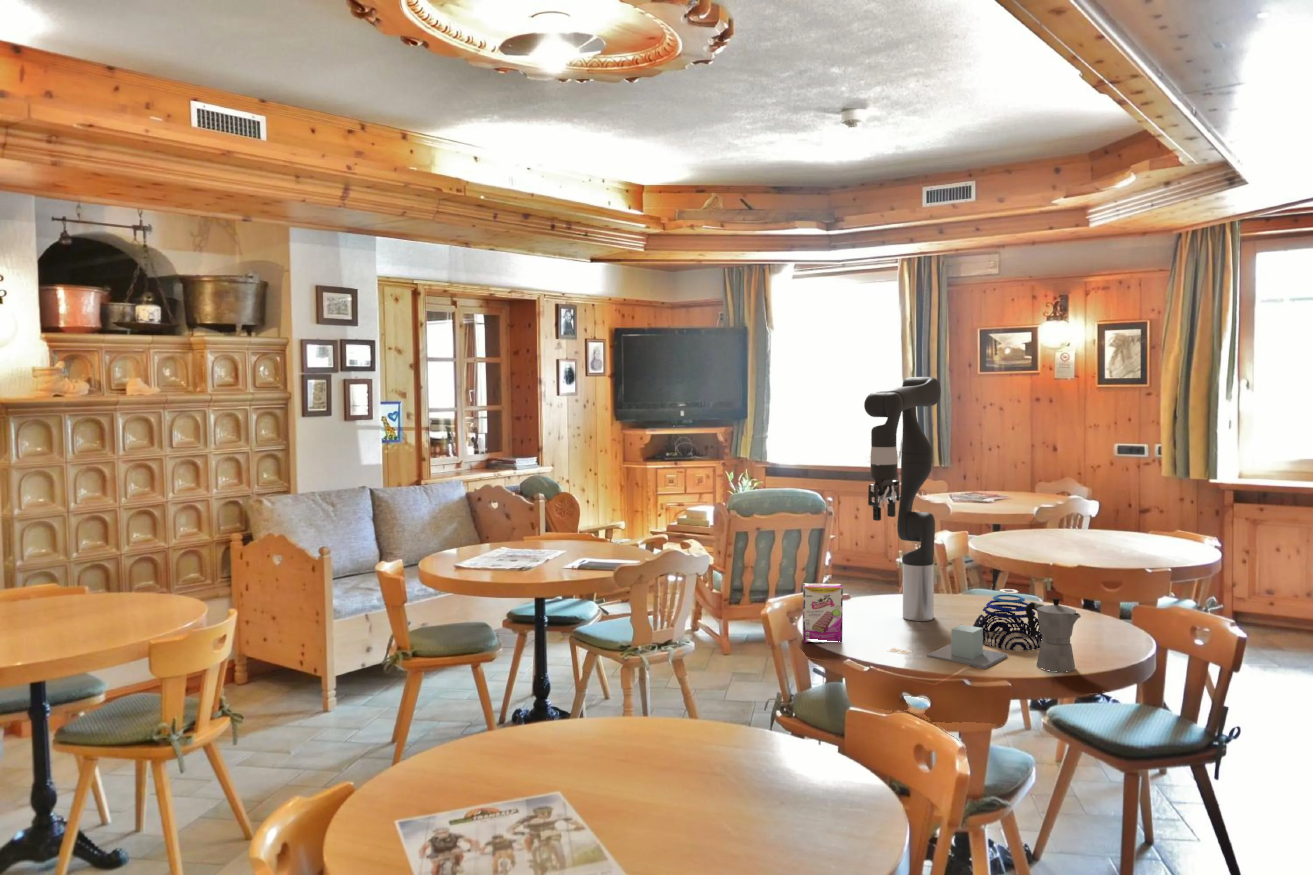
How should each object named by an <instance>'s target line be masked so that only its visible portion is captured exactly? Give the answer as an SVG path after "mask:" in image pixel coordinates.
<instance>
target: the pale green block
mask: <svg viewBox="0 0 1313 875" xmlns="http://www.w3.org/2000/svg"><path fill="white" fill-rule="evenodd" d="M950 632H951V634H950V635H951V636H950V637H951V640H950V642H951V643H950V644H951V655H955V656H960V657H965V658H971V659H974V658H976V657H978V656H980V655H982V654H983V650H984V645H983V628H979V627H973V625H965V624H960V625H957V626H955V627H952V628H951V631H950Z"/></svg>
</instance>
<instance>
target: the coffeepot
mask: <svg viewBox="0 0 1313 875" xmlns="http://www.w3.org/2000/svg"><path fill="white" fill-rule="evenodd" d="M1052 601H1053V604H1048V605H1045V604H1043V603H1038V602H1034V601H1031V602H1029V603H1027V604H1028V605H1027V606H1026V605H1025V606H1026V608H1025V611H1024V612H1025V614H1026V615H1027V618H1026V619H1027V622H1028V621H1029V625H1030V630H1031V632H1032V633H1033V634H1036V636H1037V635H1039V633H1040V634H1041V635H1042V641H1041V643H1039V644H1040V649H1038V656H1037V662H1036V667H1038V668H1039V667H1040V668H1043V669H1045V670H1044V671H1046V670H1050V671H1057V672H1056V673H1059V672H1064V673H1067V672H1066V671H1071V672H1074V670H1075V669H1076V664H1075V658H1074V653H1073V645H1072V643H1071V637H1072V635H1073V631H1074V630H1073V629H1074V625H1075V623H1076V622H1077V620H1078V619H1080V618H1081V617H1082V616H1081V614H1080V613H1078V612H1077V609H1074V608H1070V607H1068V606H1065V605H1060V603H1059V602H1060V598H1058V597H1054V598H1053V597H1052ZM1032 610H1033V611H1036V612H1037V613H1036V614H1037V619H1038V621H1039V626H1038V628H1040V631H1038V630H1036V629H1035V627H1036V625H1035V622H1034V621H1035V619H1033V613H1032ZM1040 668H1039V669H1040ZM1043 669H1042V670H1043ZM1050 671H1049V672H1050Z"/></svg>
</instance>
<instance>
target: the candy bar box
mask: <svg viewBox="0 0 1313 875" xmlns="http://www.w3.org/2000/svg"><path fill="white" fill-rule="evenodd" d="M843 588H844V587H843V585H842V584H841V583H815V582H814V583H811V582H810V583H806V582H804V583H803V582H802V643H803V644H808V643H807V639H818V640H827V641H838V642H839V641H840V642H842V643H843V611H844V610H843V609H844V608H843V607H844V606H843V605H844V604H843V601H844V600H843V599H844V598H843V595H844V592H843V591H844V590H843Z"/></svg>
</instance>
